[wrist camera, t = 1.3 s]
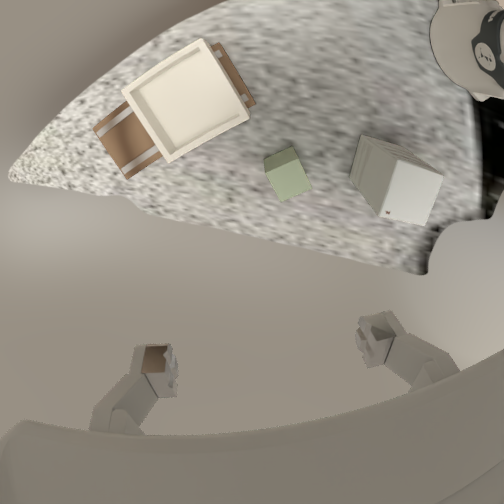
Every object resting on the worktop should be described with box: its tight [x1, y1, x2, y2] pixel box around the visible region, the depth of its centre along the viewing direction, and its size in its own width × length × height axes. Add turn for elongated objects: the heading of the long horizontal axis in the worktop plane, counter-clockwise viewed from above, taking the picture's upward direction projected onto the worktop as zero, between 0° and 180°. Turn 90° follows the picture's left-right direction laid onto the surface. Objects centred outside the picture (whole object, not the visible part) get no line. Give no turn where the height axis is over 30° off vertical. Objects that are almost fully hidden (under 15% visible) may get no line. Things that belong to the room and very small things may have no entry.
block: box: [264, 146, 312, 202], centre depth 39 cm, size 4×4×6 cm
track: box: [93, 43, 256, 179], centre depth 36 cm, size 22×10×1 cm, turn 118°
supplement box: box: [349, 135, 444, 226], centre depth 35 cm, size 7×7×13 cm
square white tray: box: [121, 38, 250, 164], centre depth 31 cm, size 11×11×6 cm
